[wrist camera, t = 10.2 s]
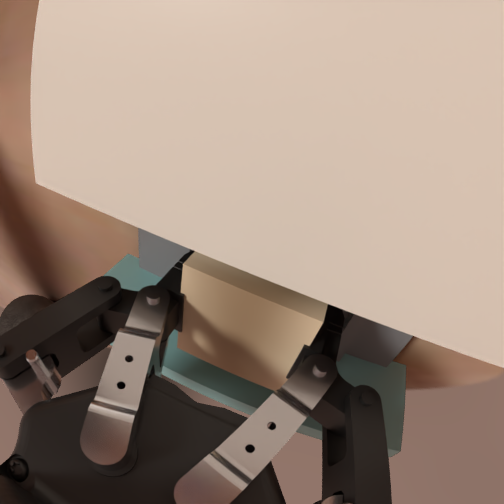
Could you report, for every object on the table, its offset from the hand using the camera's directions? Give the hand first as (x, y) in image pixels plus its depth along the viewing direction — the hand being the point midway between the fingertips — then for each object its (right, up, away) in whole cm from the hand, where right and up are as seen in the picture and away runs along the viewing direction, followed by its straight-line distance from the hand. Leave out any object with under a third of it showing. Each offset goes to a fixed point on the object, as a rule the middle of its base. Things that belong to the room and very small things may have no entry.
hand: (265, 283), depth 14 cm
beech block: (0, 0, 0) cm, 1 cm away
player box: (+4, +12, -5) cm, 13 cm away
